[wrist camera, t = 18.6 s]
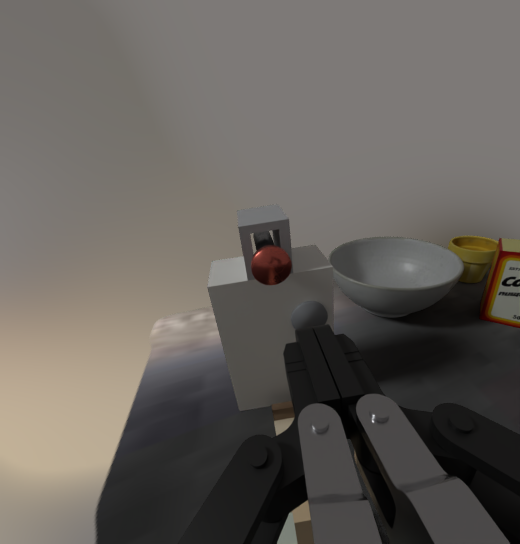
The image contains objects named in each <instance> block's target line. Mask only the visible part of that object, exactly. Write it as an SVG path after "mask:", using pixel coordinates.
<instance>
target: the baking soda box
mask: <svg viewBox="0 0 520 544" xmlns="http://www.w3.org/2000/svg"><path fill="white" fill-rule="evenodd" d="M479 319H482V320H486V321H491V322H495V323H500V324H504V325H508V326H513V327H517V328H520V240H515V239H502V238H500V239H499V242H498V245H497V249H496V252H495V255H494V259H493V262H492V266H491V269H490V272H489V276H488V279H487V282H486V286H485V289H484V293H483V296H482V299H481V303H480V315H479Z"/></svg>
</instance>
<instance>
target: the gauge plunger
mask: <svg viewBox="0 0 520 544" xmlns="http://www.w3.org/2000/svg"><path fill="white" fill-rule="evenodd" d="M254 241H255V246H256V250H257V251H256V252H255V254H254V255H253V257H252V260H251V270H252V274H253V276H254V278H255V279H256V280H257V281H258V282H260V283H262V284H264V285H276V284H279V283H281V282H283V281H284V280H285V279H286V278H287V277H288V276H289V274H290V272H291V269H292V263H291V259H290V257H289V255H288V254H287V252H286V251H285V250H284V249H283V248H281V247H279V246H275V245H274V243H273V240H272V238H271V235H270V233H269V231H263V232H257V233H254Z"/></svg>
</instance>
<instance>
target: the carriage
mask: <svg viewBox="0 0 520 544" xmlns="http://www.w3.org/2000/svg"><path fill="white" fill-rule="evenodd" d="M277 544H314V540H313V533H312V525H311V518H310V511H309V504H308V500H307V501H306V502H304V503H303V504H301V505H300V506H299V507H297V508H296V509H294V510H293V511H292V513H289V515H288V518H287V520H286V522H285V525H284V527H283V530H282V532H281V534H280V537H279V539H278V541H277Z"/></svg>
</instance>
